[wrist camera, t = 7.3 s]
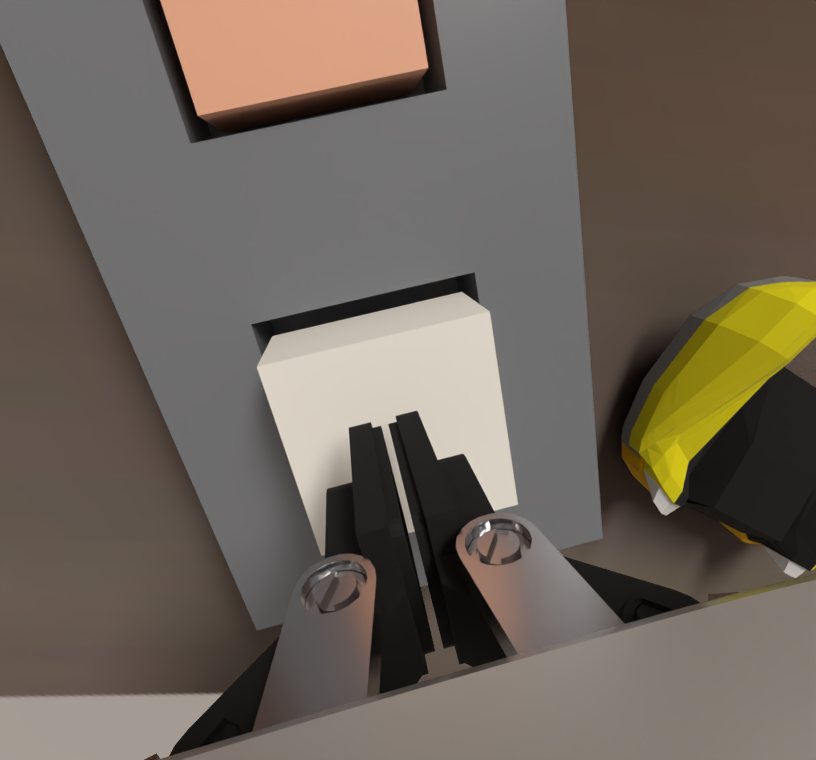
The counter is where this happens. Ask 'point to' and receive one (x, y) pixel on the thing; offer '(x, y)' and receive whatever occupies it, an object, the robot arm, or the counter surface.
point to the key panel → (325, 244)
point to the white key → (390, 395)
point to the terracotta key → (294, 55)
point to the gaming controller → (735, 420)
